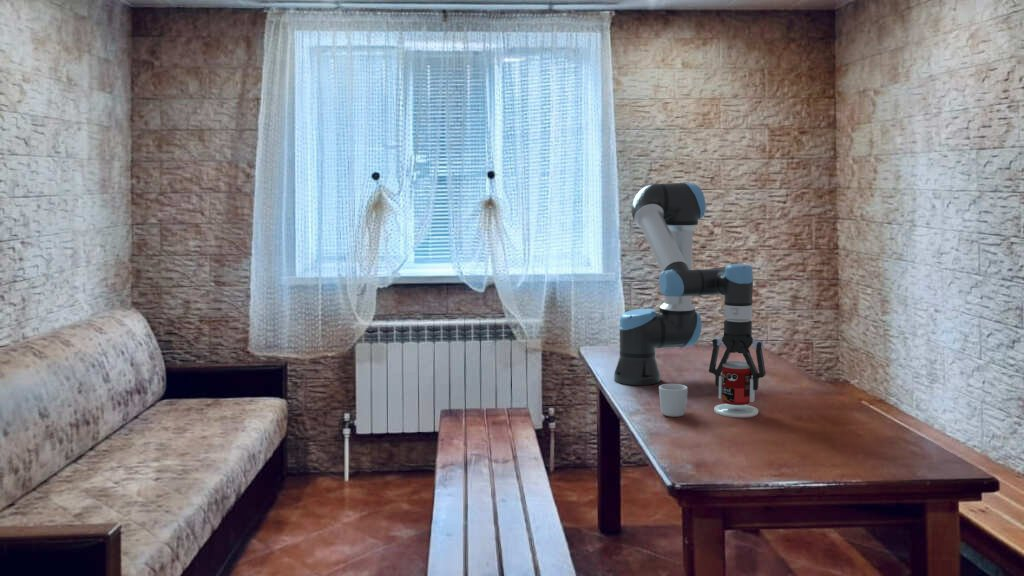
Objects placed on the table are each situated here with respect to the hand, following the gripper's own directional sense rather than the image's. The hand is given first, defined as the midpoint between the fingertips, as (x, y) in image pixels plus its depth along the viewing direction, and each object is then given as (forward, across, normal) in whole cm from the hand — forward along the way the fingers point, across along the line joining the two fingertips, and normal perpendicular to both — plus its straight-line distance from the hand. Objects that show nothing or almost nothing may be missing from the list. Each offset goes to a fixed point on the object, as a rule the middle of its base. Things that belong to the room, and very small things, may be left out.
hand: (736, 399), depth 232 cm
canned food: (+1, 0, 0) cm, 1 cm away
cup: (+4, -15, -9) cm, 18 cm away
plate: (+4, 0, 0) cm, 4 cm away
